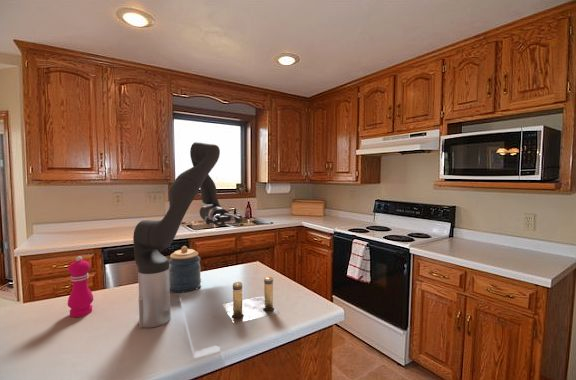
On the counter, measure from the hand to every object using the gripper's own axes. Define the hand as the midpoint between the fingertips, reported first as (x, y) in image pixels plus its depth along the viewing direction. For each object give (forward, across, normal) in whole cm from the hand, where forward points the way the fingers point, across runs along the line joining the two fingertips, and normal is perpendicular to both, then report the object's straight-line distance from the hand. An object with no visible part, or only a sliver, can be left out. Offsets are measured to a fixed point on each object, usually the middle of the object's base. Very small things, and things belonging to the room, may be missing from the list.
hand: (228, 221), depth 108 cm
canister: (-19, -14, +30) cm, 38 cm away
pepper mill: (-11, -49, +30) cm, 59 cm away
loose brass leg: (+18, -2, +29) cm, 34 cm away
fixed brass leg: (+18, +10, +29) cm, 35 cm away
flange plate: (+14, +4, +30) cm, 33 cm away
